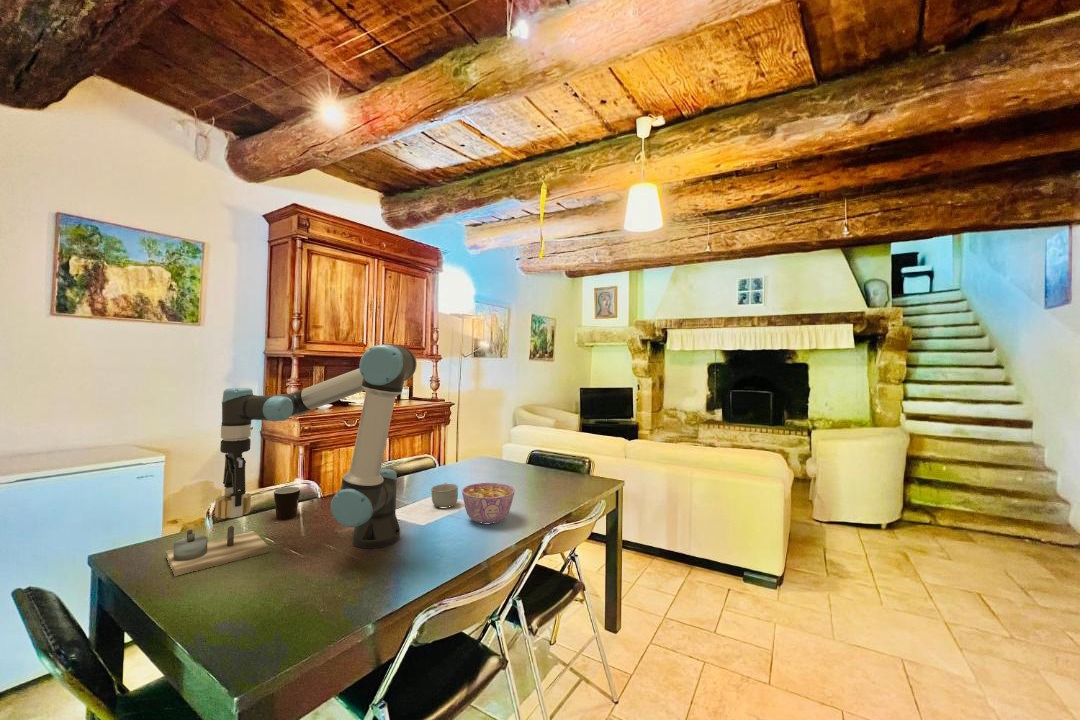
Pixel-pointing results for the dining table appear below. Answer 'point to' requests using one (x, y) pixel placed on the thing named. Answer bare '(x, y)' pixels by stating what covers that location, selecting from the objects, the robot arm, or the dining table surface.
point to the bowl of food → (488, 501)
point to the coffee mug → (286, 502)
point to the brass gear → (225, 505)
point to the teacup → (444, 495)
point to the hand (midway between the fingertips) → (232, 512)
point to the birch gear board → (213, 551)
